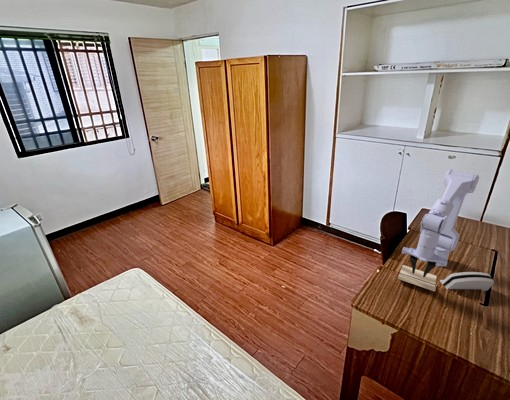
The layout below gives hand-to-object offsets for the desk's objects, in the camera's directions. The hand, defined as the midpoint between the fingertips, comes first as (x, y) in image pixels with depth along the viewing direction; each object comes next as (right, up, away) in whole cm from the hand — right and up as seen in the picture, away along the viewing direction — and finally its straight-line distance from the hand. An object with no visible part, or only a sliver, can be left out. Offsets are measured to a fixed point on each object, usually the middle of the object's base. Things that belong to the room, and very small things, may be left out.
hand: (418, 273), depth 105 cm
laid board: (+6, -4, +11) cm, 13 cm away
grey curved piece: (+21, -7, +4) cm, 22 cm away
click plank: (+1, -5, +4) cm, 7 cm away
